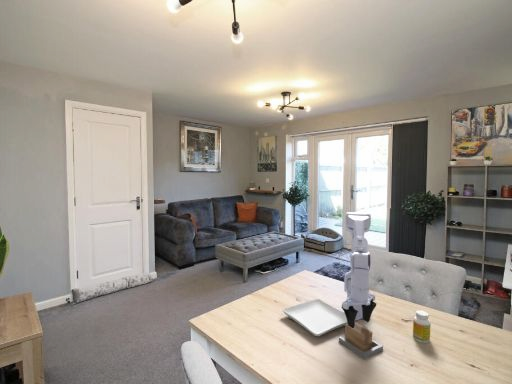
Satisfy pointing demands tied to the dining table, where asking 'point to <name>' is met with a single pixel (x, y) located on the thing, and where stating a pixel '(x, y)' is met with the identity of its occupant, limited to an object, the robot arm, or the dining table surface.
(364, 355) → the bay
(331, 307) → the salad plate
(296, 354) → the dining table surface
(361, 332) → the tan cardboard box
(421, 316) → the supplement bottle
